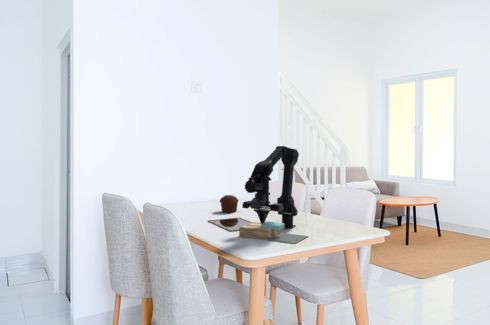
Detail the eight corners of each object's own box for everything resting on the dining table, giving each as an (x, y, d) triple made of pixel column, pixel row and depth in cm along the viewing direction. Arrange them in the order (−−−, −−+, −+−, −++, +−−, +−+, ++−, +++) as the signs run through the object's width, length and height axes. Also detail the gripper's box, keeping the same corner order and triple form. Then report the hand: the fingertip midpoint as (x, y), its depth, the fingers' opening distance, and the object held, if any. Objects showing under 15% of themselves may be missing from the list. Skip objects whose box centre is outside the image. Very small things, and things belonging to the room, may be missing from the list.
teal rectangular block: (266, 225, 198) (266, 221, 197) (284, 227, 193) (284, 223, 193) (261, 228, 192) (261, 223, 192) (279, 230, 188) (279, 225, 188)
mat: (281, 233, 199) (281, 232, 199) (308, 236, 192) (308, 236, 192) (267, 240, 186) (267, 239, 186) (295, 244, 179) (295, 243, 179)
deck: (253, 230, 206) (253, 222, 205) (279, 233, 199) (280, 225, 199) (239, 236, 194) (239, 227, 193) (266, 239, 187) (266, 230, 186)
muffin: (237, 210, 264) (237, 194, 264) (239, 213, 253) (239, 196, 253) (218, 210, 263) (218, 194, 262) (220, 213, 252) (220, 196, 251)
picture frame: (264, 228, 212) (239, 219, 236) (264, 226, 212) (239, 217, 236) (230, 232, 203) (207, 222, 228) (230, 230, 203) (207, 220, 227)
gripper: (236, 191, 192) (236, 225, 193) (273, 194, 183) (272, 230, 184) (248, 188, 202) (248, 221, 203) (284, 191, 192) (283, 225, 193)
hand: (262, 224), depth 195 cm, fingers closed
